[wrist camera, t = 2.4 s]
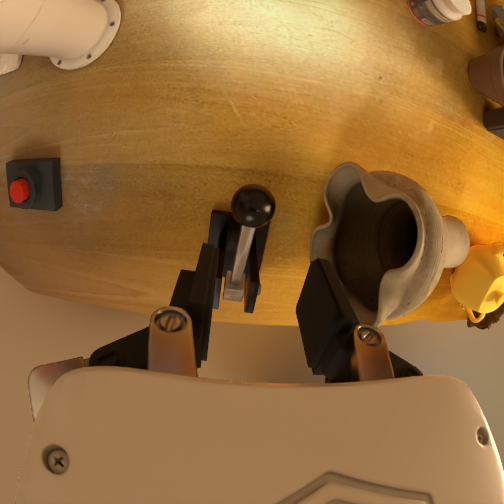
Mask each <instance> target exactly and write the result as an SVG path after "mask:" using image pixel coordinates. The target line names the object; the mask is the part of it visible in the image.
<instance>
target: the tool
mask: <svg viewBox="0 0 504 504" xmlns="http://www.w3.org/2000/svg"><path fill="white" fill-rule="evenodd" d="M491 8H492V18H493V22H494V24H493V28H494V31H495V32H496V35H497V37H499V38H500V39H501V43H502V46H504V9H503V8H502V6H496V5H491Z"/></svg>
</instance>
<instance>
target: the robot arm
mask: <svg viewBox="0 0 504 504" xmlns="http://www.w3.org/2000/svg"><path fill="white" fill-rule="evenodd" d="M120 20H121V11H120V7H119V5H118V3H117V2H116V1H115V0H0V54H21V55H35V56H45V57H50V59H51V61H52V63H53V64H54V65H55V66H57V67H59V68H61V69H68V70H73V69H79V68H81V67H84V66H86V65H88V64H89V63H91V62H93V61H94V60H95V59H97V58H98V57H99V56H100V55H101V54H102V53H103V52H104V51H105V50H106V49H107V48H108V46H109V45H110V44H111V42H112V40H113V39H114V37H115V35H116V33H117V31H118V28H119V25H120ZM219 250H220V248H215V244H208V243H203V245H202V248H201V252H200V256H199V260H198V264H197V267H196V271H189V270H181V271H180V274H179V277H178V280H177V283H176V286H175V289H174V292H173V296H172V299H171V302H170V305H169V306H167V307H162V308H159V309H157V310H156V311H154V312H153V314H152V315H151V318H150V325H149V327H146V328H144V329H142V330H140V331H137V332H135V333H133V334H131V335H128V336H126V337H124V338H121V339H119V340H117V341H114V342H112V343H110V344H107V345H105V346H103V347H101V348H99V349H97V350H95V351H94V352H93V353H92V355H91V357H90V358H88V359H83V357H78V358H73V359H69V360H64V361H60V362H56V363H50V364H46V365H40V366H38V367H35V368H34V369H33V370H32V371H31V372H30V374H29V376H28V389H29V397H30V403H31V410H32V416H33V421H34V425H33V428H32V430H31V433H30V436H29V439H28V443H27V446H26V450H25V453H24V457H23V462H22V465H21V470H20V474H19V479H18V486H17V493H16V500H15V504H504V472H503V468H502V464H501V461H500V457H499V454H498V451H497V448H496V445H495V442H494V439H493V437H492V434H491V431H490V429H489V426H488V424H487V421H486V419H485V417H484V415H483V412H482V410H481V408H480V406H479V404H478V402H477V400H476V399H475V397H474V395H473V393H472V392H471V390H470V389H469V387H468V386H467V385H466V384H465V383H464V382H462V381H461V380H458V379H456V378H452V377H449V376H443V375H423V374H422V373H421V371H420V370H419V369H417V368H416V367H415V366H413V365H411V364H410V363H408V362H407V361H405V360H403V359H401V358H400V357H398V356H397V355H395V354H394V353H392V352H390V351H389V350H388V348H387V344H386V340H385V337H384V335H383V334H382V332H381V331H380V330H379V329H377V328H376V327H374V326H372V325H369V324H360V323H359V321H358V319H357V316H356V314H355V312H354V310H353V308H352V306H351V304H350V301H349V299H348V297H347V295H346V293H345V291H344V289H343V287H342V285H341V283H340V281H339V279H338V277H337V275H336V273H335V271H334V269H333V267H332V265H331V263H330V261H329V260H327V259H320V258H317V259H316V260H315V261H312V262H311V264H310V267H309V270H308V273H307V276H306V279H305V282H304V285H303V288H302V291H301V294H300V297H299V300H298V303H297V306H296V315H297V319H298V323H299V328H300V332H301V336H302V341H303V346H304V350H305V355H306V359H307V364H308V367H309V368H312V372H313V375H325V376H326V378H325V383H323V384H281V383H279V384H278V383H255V382H239V381H228V380H217V379H207V378H199V377H198V375H197V368H200V367H201V360H204V361H206V360H207V352H208V343H209V334H210V326H211V318H212V309H213V301H214V292H215V284H216V275H217V267H218V258H219Z"/></svg>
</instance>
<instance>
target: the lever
mask: <svg viewBox="0 0 504 504" xmlns="http://www.w3.org/2000/svg"><path fill="white" fill-rule="evenodd" d="M275 208H276V204H275V199H274V197H273V195H272V193H271V192H270V191H269V190H268V189H267V188H266V187H264V186H262V185H259V184H247V185H245V186H242V187H241V188H239V189H238V190H237V191H236V193H235V194H234V196H233V198H232V201H231V211H232V214H233V216H234V218H235V219H236V221H237V222H238V223H240V224H241V229H240V234H239V239H238V244H237V249H236V254H235V259H234V264H233V268H232V271H228V270H227V271H226V277H225V283H224V292H223V300H231V301H239V302H241V301H242V298H243V295H244V292H245V279H246V273H244V269H245V265H246V261H247V258H248V254H249V250H250V247H251V243H252V239H253V236H254V232H255V228H259V227H262V226H264V225H266V224H267V223H268V222H269V221H270V220H271V219H272V217H273V215H274V213H275Z"/></svg>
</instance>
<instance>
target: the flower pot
mask: <svg viewBox="0 0 504 504" xmlns="http://www.w3.org/2000/svg"><path fill="white" fill-rule="evenodd" d="M468 75H469V79H470V82H471V84H472V86H473V87H474V89H475V90H476V91H477V92H478V93H480V94H482V95H484V96H485V97H487V98H489V99H491V100H493V101H495V102H497V103H499V104H501V105H502V106H503V107H504V46H497V47H495V48H494V49H493V51H492V52H491V53H488V54H485V55H482V56H480V57H477V58H475V59H473V60H471V61H470V63H469V65H468Z"/></svg>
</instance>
